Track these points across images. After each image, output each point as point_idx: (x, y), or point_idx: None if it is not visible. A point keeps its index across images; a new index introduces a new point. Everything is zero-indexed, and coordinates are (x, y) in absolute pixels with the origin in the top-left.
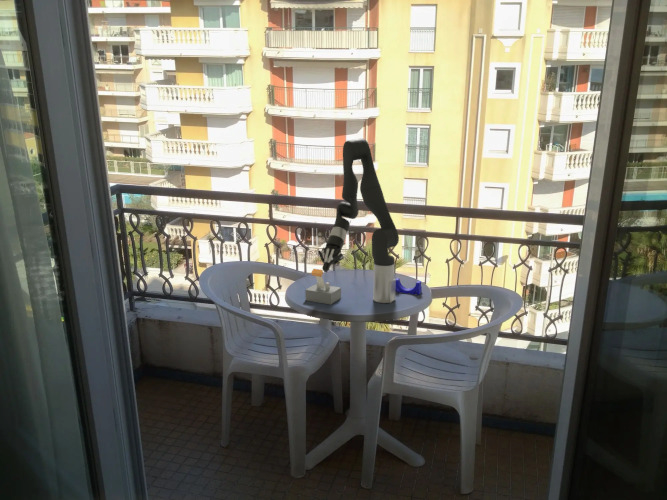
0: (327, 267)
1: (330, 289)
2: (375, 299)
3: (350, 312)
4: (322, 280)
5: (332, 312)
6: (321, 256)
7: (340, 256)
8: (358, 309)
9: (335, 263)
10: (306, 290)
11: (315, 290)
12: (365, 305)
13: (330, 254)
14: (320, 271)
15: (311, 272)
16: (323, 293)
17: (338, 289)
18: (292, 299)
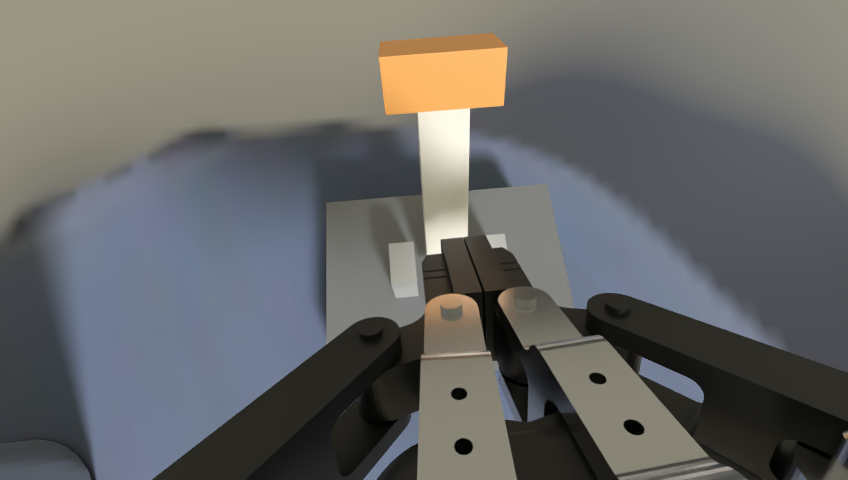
0: (435, 269)
1: (382, 287)
2: (52, 449)
3: (180, 182)
4: (422, 194)
5: (275, 136)
6: (712, 346)
7: (160, 474)
8: (149, 246)
9: (353, 405)
10: (536, 187)
11: (472, 207)
12: (125, 335)
13: (492, 415)
14: (390, 48)
15: (491, 33)
16: (391, 200)
17: (327, 331)
18: (604, 191)
